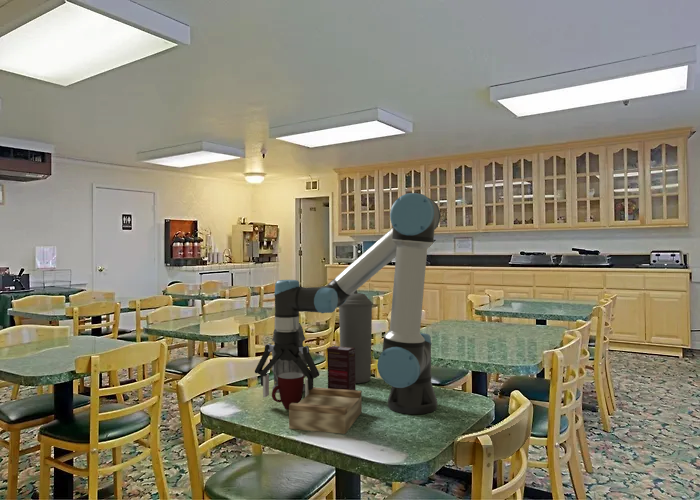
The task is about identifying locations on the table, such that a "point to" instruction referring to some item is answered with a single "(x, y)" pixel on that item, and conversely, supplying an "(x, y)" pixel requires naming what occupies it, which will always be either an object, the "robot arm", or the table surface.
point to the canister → (357, 332)
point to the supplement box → (341, 368)
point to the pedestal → (326, 410)
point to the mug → (289, 388)
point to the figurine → (285, 365)
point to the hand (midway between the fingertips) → (286, 398)
